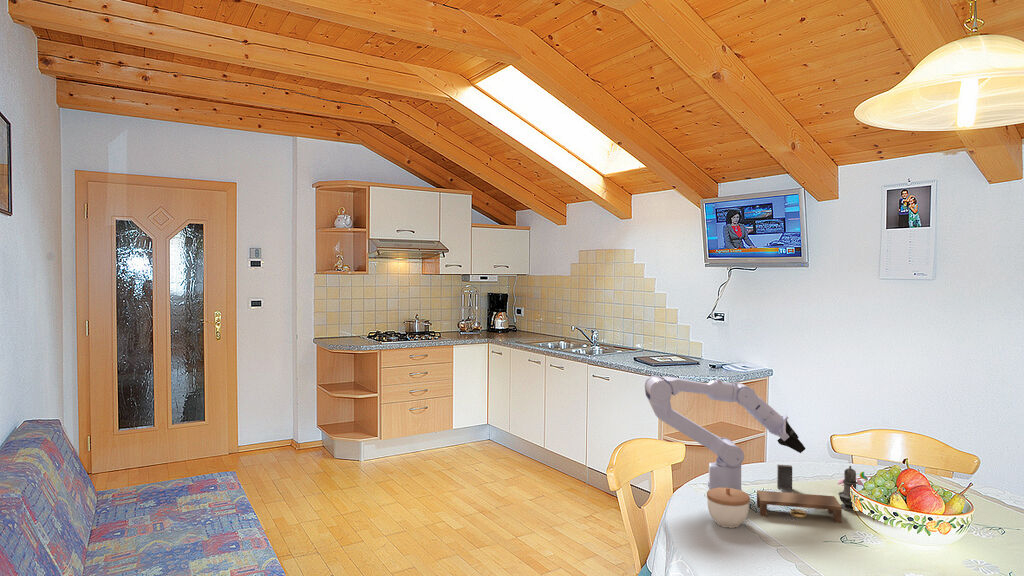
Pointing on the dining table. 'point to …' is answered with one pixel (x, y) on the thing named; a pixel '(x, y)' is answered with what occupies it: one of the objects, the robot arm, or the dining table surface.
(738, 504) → the lidded jar
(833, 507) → the low shelf
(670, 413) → the robot arm
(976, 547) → the dining table surface
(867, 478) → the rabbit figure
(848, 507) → the salt shaker
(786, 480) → the scraper tool
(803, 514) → the brass token
